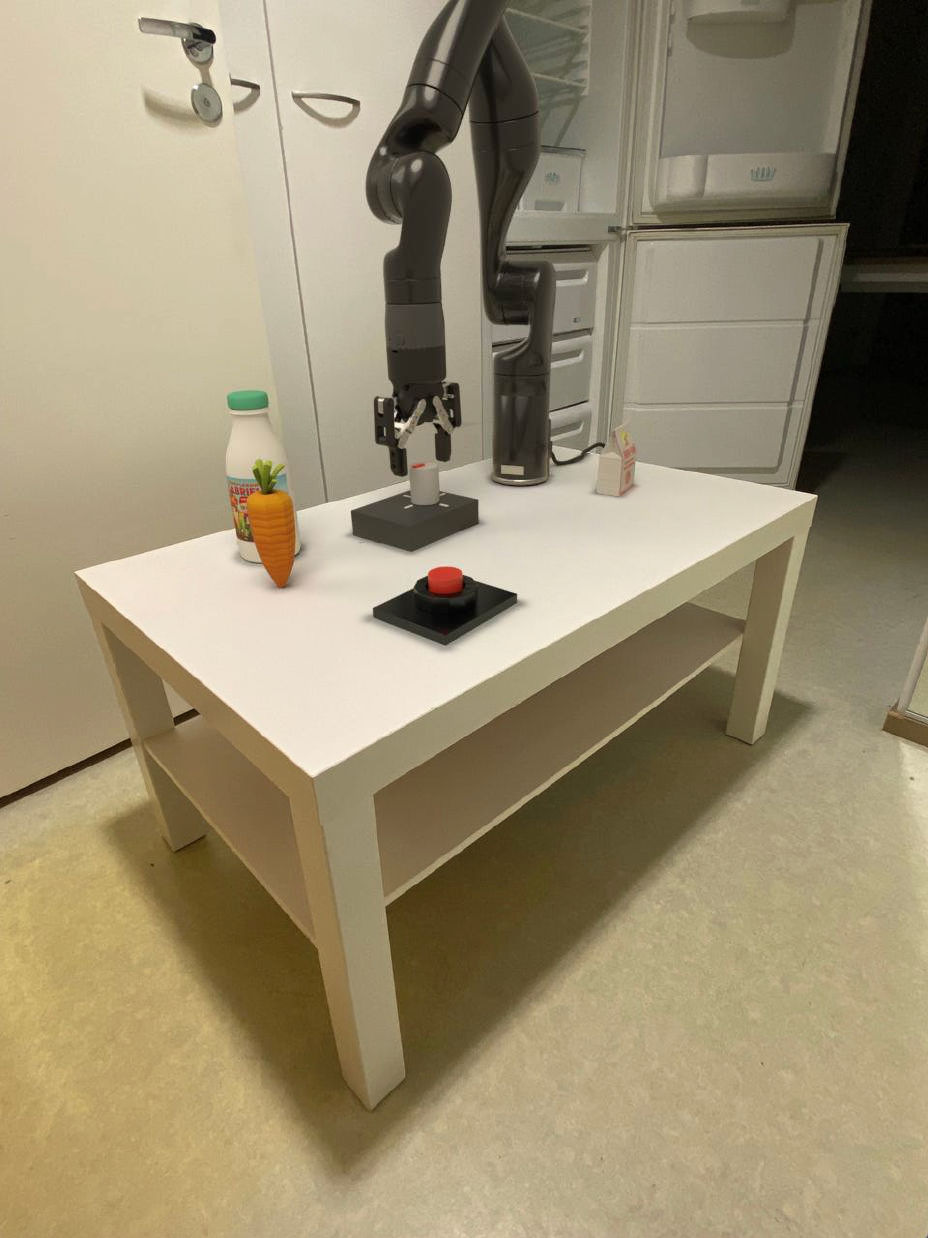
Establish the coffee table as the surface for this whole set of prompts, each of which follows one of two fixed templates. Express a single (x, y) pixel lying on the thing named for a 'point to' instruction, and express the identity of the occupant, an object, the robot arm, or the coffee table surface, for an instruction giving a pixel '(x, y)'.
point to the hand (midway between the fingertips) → (422, 467)
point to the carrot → (272, 523)
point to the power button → (445, 580)
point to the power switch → (444, 609)
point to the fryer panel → (414, 520)
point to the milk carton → (617, 463)
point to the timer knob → (424, 483)
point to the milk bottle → (253, 462)
